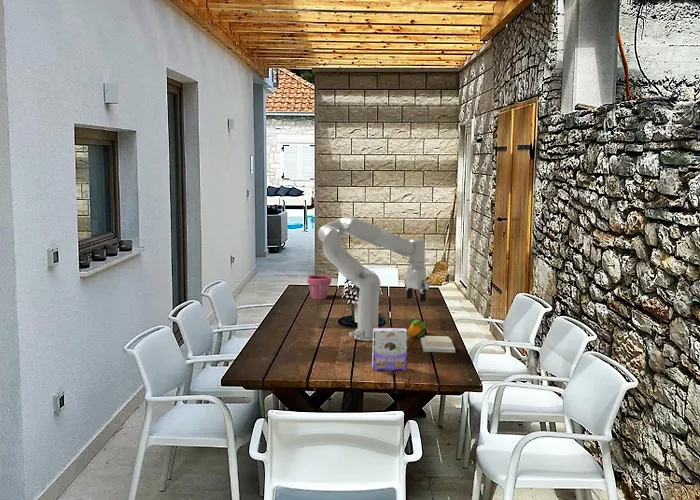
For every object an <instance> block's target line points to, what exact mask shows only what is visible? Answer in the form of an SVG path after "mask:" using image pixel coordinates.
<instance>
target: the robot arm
mask: <svg viewBox="0 0 700 500" xmlns="http://www.w3.org/2000/svg"><path fill="white" fill-rule="evenodd" d="M347 235H349V236H351V237H353V238H356V239H359V240H361V241H364V242H366V243H367V244H370V245H374V246H376V247H379V248H383V249H386V250H388V251H390V252H393V253H395V254H397V255H400V256H403V257H408V267H407V270H406V277H405V278H406V279H404V280H403V283H404V287H405V291H406V299H407V300H409V299H413V295H414V293H413V291H414V290H419V291H420V293H419V302H420V303H423V302H424V303H425V302H426V301H427V294H428V291H429V289H430V284H429V283H428V282H427V274H426V273H427V272H426V268H425V262H426V261H425V258H426V256H425V255H426V254H425V253H426V241H425V239H424V238H404V237H401V236H398V235H396V234H394V233H391V232H389V231H387V230H386V229H383V228H381V227H379V226H376V225H374V224H371V223H370V222H367V221H364V220H362V219H360V218H357V217H354V216H345V217H344V216H343V217H341V218H340V219H339V218H338V219H336V220H334V221H331V222H329V223H326V224H323V225H322V226H320V228H319V229H318V231H317V236H318V239H319V240H320V242H322V251H323V254H324V256H325V258H326V259H327V260H328V261H329V262H330V263H331V264H332V265H333V266H335V268H337V270H338V272H339V273H340V274H341V275H342V276H343V277H345V278H346V279H347V280H348V281H350V282H351V283H352V284H353V285H355V286H356V287H357V288H358V289H359V292H358V293H359V294H358V299H357V300H358V303H357V304H358V305H357V306H358V307H357V328H355V330H354V331H349V332H348V335H349V336H350V337H352V336H354V337H353V338H354V339H356V340H357V341H362V342H373V328H379V297H380V292H381V291H380V290H381V280H380V277H379V276H378V275H377V274H376V273H375V272H373V271H370V270H369V269H367V268H366V267H365V266H364V265H362V263H361V262H360V260H359V259H357V258H355V257H354V256H352V255H351V254H350V253H348V251H346V250H345V248H343V247H342V245H341V238H343V237H345V236H347Z"/></svg>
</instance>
